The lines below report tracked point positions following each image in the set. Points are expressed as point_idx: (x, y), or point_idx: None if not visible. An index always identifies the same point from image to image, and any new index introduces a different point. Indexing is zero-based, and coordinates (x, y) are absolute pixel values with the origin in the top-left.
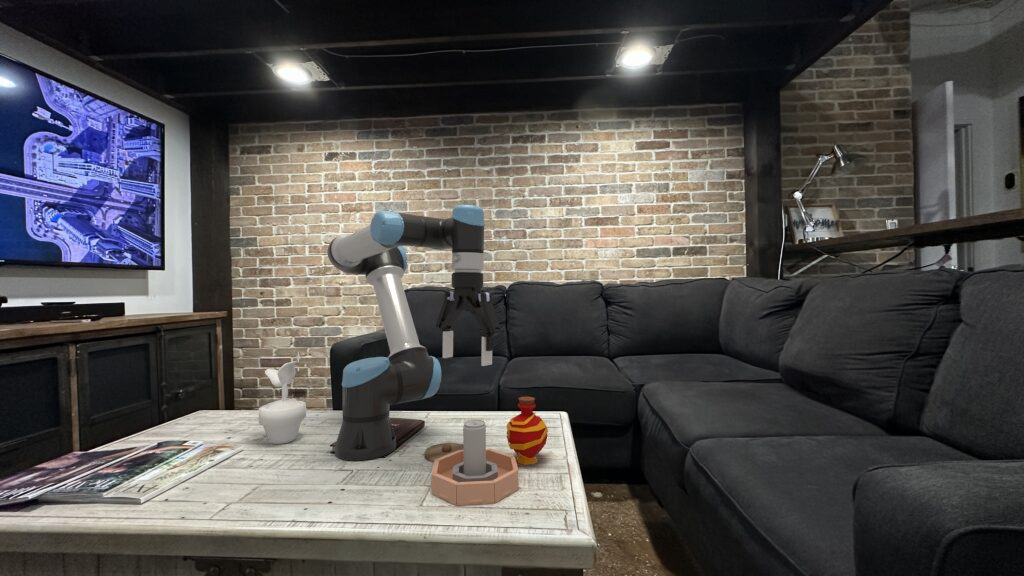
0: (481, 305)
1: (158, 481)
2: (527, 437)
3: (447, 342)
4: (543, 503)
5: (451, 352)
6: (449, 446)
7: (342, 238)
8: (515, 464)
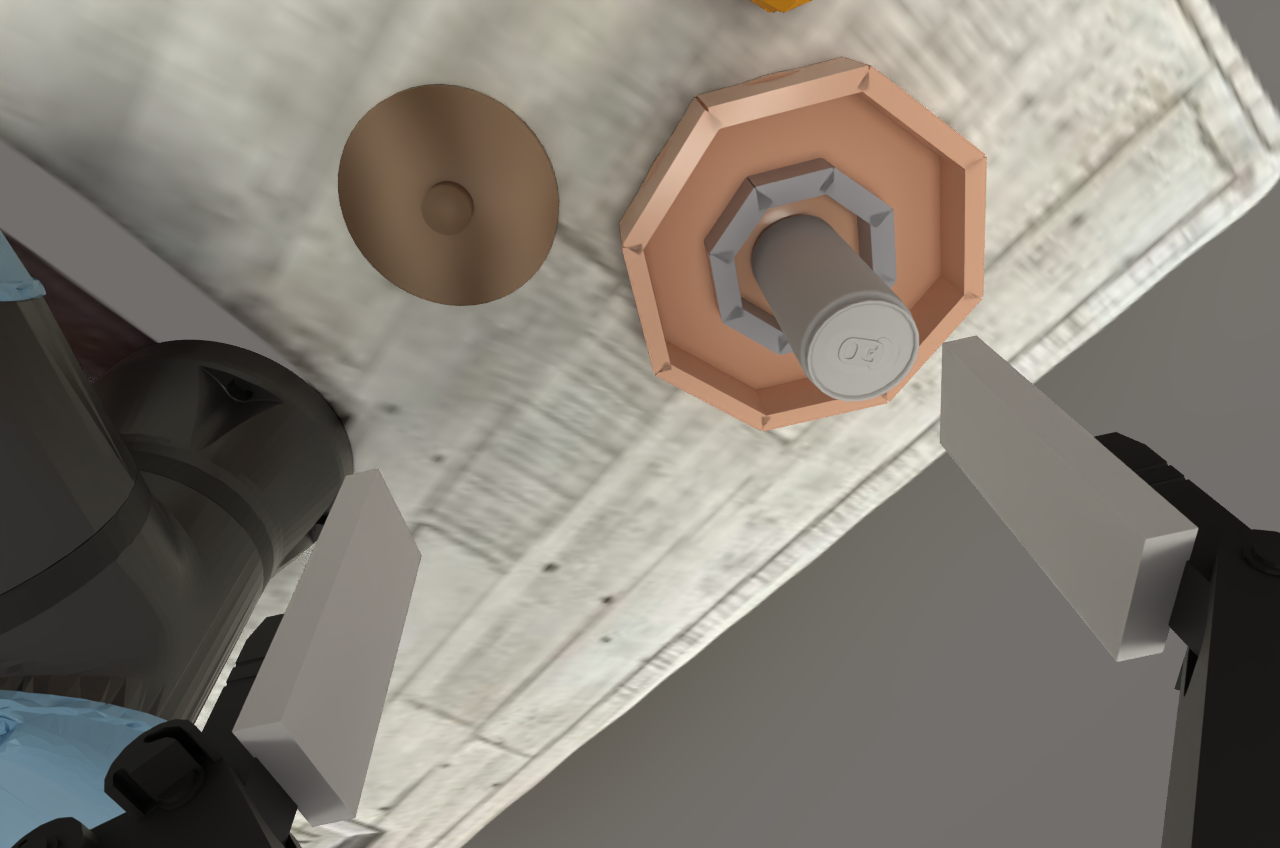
0: None
1: None
2: None
3: (371, 654)
4: (1090, 130)
5: (376, 517)
6: (462, 205)
7: None
8: (937, 126)
